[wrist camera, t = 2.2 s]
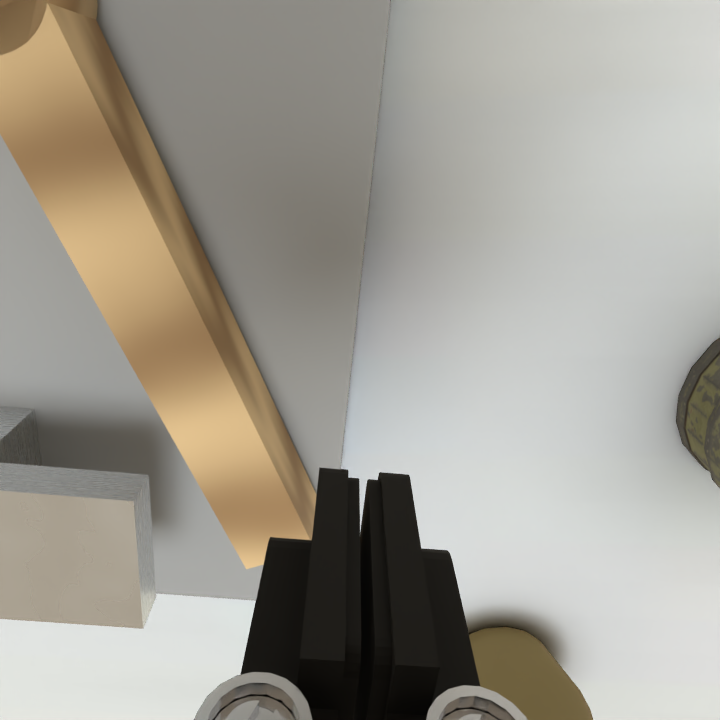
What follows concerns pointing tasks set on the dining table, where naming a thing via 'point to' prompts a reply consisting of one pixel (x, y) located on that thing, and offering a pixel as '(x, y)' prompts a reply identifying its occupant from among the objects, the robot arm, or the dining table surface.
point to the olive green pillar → (702, 411)
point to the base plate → (213, 247)
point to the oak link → (146, 267)
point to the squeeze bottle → (526, 675)
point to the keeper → (70, 537)
